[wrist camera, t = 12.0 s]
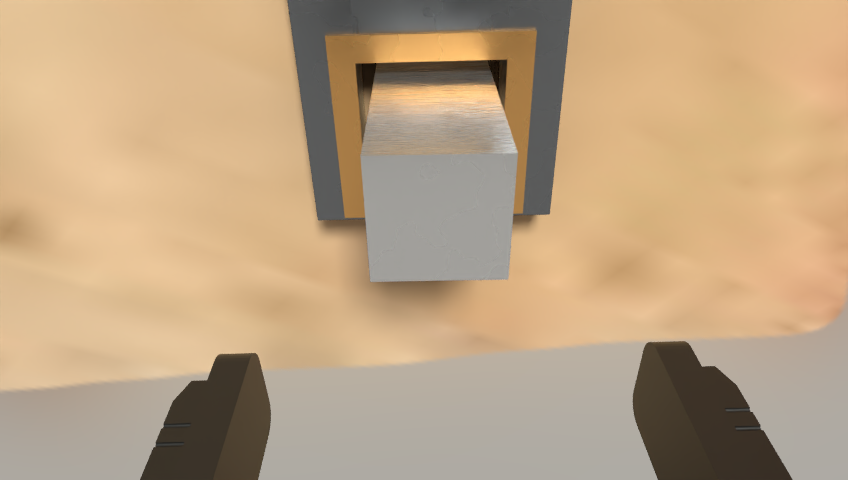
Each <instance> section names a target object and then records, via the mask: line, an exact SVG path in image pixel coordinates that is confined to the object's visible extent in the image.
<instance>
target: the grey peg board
mask: <svg viewBox="0 0 848 480" xmlns="http://www.w3.org/2000/svg"><path fill="white" fill-rule="evenodd" d="M288 7H289V15H290V22H291V29H292V36H293V44H294V51H295V58H296V65H297V72H298V80H299V87H300V94H301V101H302V109H303V116H304V123H305V130H306V137H307V145H308V152H309V159H310V166H311V173H312V181H313V188H314V195H315V202H316V210H317V217H318V220H349V219H365V208H364V195H363V182H362V170H361V157H360V155H361V150H362V144H363V139H364V133H365V127H366V119H365V106H364V94H363V81H362V69H361V63H391V62H429V61H468V60H500V64H499V86H498V94H499V98H500V101H501V104H502V107H503V110H504V113H505V116H506V119H507V122H508V125H509V128H510V131H511V134H512V137H513V140H514V143H515V146H516V149H517V152H518V159H517V172H516V185H515V198H514V211H513V215H544V214H550V206H551V196H552V187H553V177H554V168H555V158H556V149H557V140H558V130H559V121H560V111H561V102H562V92H563V83H564V73H565V64H566V54H567V45H568V35H569V26H570V16H571V7H572V0H288Z"/></svg>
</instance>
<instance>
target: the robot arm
mask: <svg viewBox="0 0 848 480" xmlns="http://www.w3.org/2000/svg"><path fill="white" fill-rule="evenodd" d="M633 409H634V416H635V420H636V423H637V426H638V429H639V431H640V434H641V437H642V439H643V442H644V444H645V447H646V450H647V452H648V455H649V457H650V460H651V463H652V465H653V468H654V470H655V473H656V475H657V478H658V480H792V478H791V476H790V475H789V473H788V471H787V469H786V468H785V466H784V464H783V463H782V461H781V459H780V458H779V456H778V455H777V453H776V451H775V449H774V448H773V446H772V444H771V443H770V441H769V439H768V437H767V436H766V434H765V432H764V431H763V430H761V428H760V424H759V422H758V421H757V419H756V417H755V415H754V414H753V412H750V407H749V405H748V404H747V402H746V400H745V399H744V397H743V395H742V394H741V392H740V390H739V389H738V387H737V385H736V384H735V383H733V382H732V381H731V380H730V379H729V378H728V377H726V376H725V375H724V374H723V373H722V372H721V371H720V370H719V369H717V368H716V367H715V366H706V367H702V366H701V364H700V362H699V361H698V359H697V357H696V355H695V354H694V352H693V350H692V348H691V346H690V345H689V344H688V343H687V342H685V341H678V342H648V343H647V344H646V345H645V348H644V351H643V355H642V359H641V363H640V368H639V371H638V376H637V380H636V384H635V388H634V393H633ZM270 421H271V410H270V402H269V398H268V394H267V389H266V385H265V381H264V377H263V373H262V369H261V365H260V361H259V358H258V355H257V354H256V353H245V354H219V355H218V356H217V357H216V359H215V361H214V364H213V366H212V369H211V372H210V374H209V377H208V380H207V381H191V382H190V383H189V384H188V386H187V387H186V388H185V389H184V390H183V391H182V392H181V393H180V394H179V395H178V396H177V397H176V399H175V400H174V401H173V403H172V405H171V407H170V410H169V412H168V415H167V417H166V419H165V422H164V427H163V428H162V429H161V431H160V434H159V436H158V439H157V441H156V447H154V448H153V450H152V453H151V455H150V457H149V460H148V462H147V464H146V467H145V469H144V472H143V474H142V477H141V479H140V480H258V477H259V473H260V469H261V465H262V460H263V456H264V452H265V448H266V444H267V440H268V435H269V430H270Z"/></svg>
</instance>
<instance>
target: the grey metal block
mask: <svg viewBox="0 0 848 480" xmlns="http://www.w3.org/2000/svg"><path fill="white" fill-rule="evenodd" d="M360 157H361V170H362V182H363V195H364V208H365V221H366V234H367V247H368V259H369V272H370V282H391V281H446V280H502V279H508V275H509V262H510V249H511V237H512V224H513V211H514V198H515V185H516V172H517V159H518V152H517V149H516V146H515V143H514V140H513V137H512V134H511V131H510V128H509V125H508V122H507V119H506V116H505V113H504V110H503V107H502V104H501V101H500V98H499V94H498V91H497V88H496V85H495V82H494V79H493V76H492V73H491V70H490V67H489V64H488V61H487V60H468V61H429V62H391V63H377V65H376V71H375V77H374V82H373V88H372V93H371V99H370V105H369V110H368V116H367V122H366V127H365V133H364V139H363V144H362V150H361V155H360Z"/></svg>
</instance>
